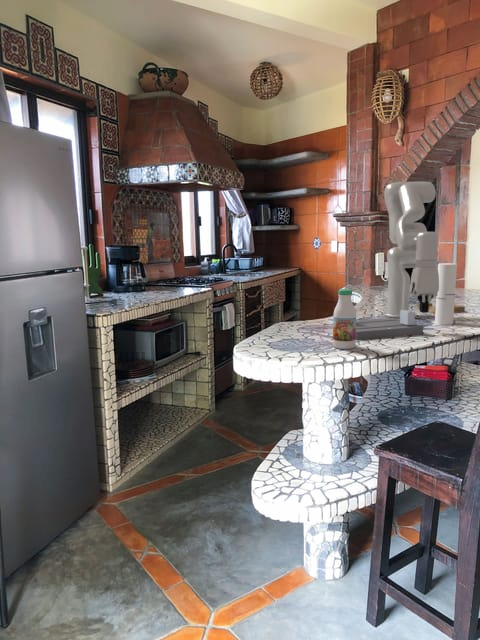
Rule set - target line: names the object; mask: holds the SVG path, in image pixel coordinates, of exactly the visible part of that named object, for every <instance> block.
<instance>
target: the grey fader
mask: <svg viewBox="0 0 480 640" xmlns="http://www.w3.org/2000/svg"><path fill="white" fill-rule="evenodd" d="M399 319H400V323H402V324H405V325H414V324H415V321H416V320H415V319H416V312H415V311H413V310H410V309H409V310H405V309H404V310H400V318H399Z"/></svg>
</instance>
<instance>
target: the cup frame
mask: <svg viewBox="0 0 480 640" xmlns="http://www.w3.org/2000/svg"><path fill="white" fill-rule="evenodd" d="M419 307H420V303H417V310H420V309H419ZM465 309H466V308H465V306H463V305H460V304H454V314H455V313H465ZM435 311H436V308H435V307H433V306H432V302H429V309H428V313H433V314H435Z"/></svg>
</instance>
